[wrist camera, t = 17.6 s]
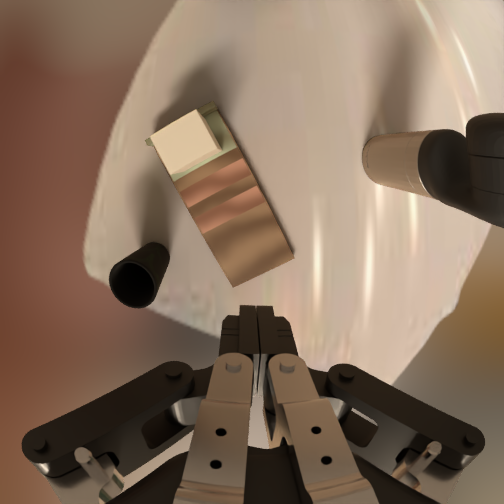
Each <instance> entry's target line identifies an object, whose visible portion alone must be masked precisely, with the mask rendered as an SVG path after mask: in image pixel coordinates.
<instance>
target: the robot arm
mask: <svg viewBox="0 0 504 504" xmlns="http://www.w3.org/2000/svg"><path fill="white" fill-rule="evenodd" d="M362 162H363V167H364V170H365V172H366V174H367V175H368V177H369V178H370V179H371V180H372V181H374V182H375V183H377V184H380V185H383V186H387V187H391V188H395V189H399V190H403V191H407V192H411V193H415V194H418V195H422V196H426V197H430V198H433V199H436V200H440V201H441V202H442V203H444V204H446V205H448V206H451V207H454V208H457V209H459V210H462V211H464V212H466V213H468V214H471V215H473V216H475V217H477V218H479V219H481V220H484V221H486V222H488V223H490V224H493V225H496V226H499V227H502V228H504V113H488V114H482V115H478V116H475V117H473V118H471V119H470V120H469V121H468V123H467V125H466V137H464V136H463V135H462V134H461V133H459V132H457V131H454V130H450V129H441V130H428V131H416V132H405V133H396V134H386V135H379V136H375V137H373V138H372V139H370V140H369V141H368V142H367V144H366V145H365V147H364V150H363V155H362ZM256 386H257V396H263V398H264V404H263V416H264V421H265V426H266V432H267V437H268V443H269V449H262V448H256V447H251V446H248V433H249V420H250V408H251V406H252V396H256ZM352 408H354V409H356V410H357V411H359V412H361V413H362V414H364V415H366V416H368V417H369V418H371V419H373V420H374V421H375V422H376V423H377V425H378V426H376V425H374V424H373V423H371V422H369V421H368V420H366V419H364V418H362V417H361V416H359V415H357V414H356V413H354V412H353V411H351V410H352ZM192 430H194V432H193V436H192V440H191V444H190V448H189V451H187V452H184V453H181V454H179V455H176V456H174V457H173V458H171V459H169V460H168V461H166V462H165V463H164V464H162V465H161V466H159V467H158V468H157V469H155V470H154V471H153V472H151V473H150V474H148V475H147V476H146V477H144V478H143V479H141V480H140V481H139V482H137V483H136V484H134V485H133V486H131V487H130V488H128V489H127V490H125V491H124V492H122V493H121V494H119V493H120V492H121V491H122V490H123V487H124V479H123V477H125V476H126V475H128V474H130V473H131V472H133V471H134V470H136V469H138V468H139V467H141V466H142V465H144V464H145V463H147V462H148V461H150V460H151V459H153V458H154V457H156V456H157V455H159V454H160V453H162V452H163V451H165V450H166V449H168V448H169V447H171V446H172V445H173V444H175V443H176V442H178V441H179V440H180V439H182V438H183V437H184V436H186V435H187V434H188V433H190V432H191V431H192ZM484 446H485V438H484V436H483V434H482V432H481V431H480V430H479V429H478V428H476V427H474V426H472V425H470V424H467V423H465V422H463V421H461V420H459V419H457V418H454V417H452V416H450V415H448V414H446V413H444V412H442V411H440V410H438V409H436V408H433V407H432V406H429V405H428V404H425V403H423V402H422V401H420V400H417V399H416V398H414V397H412V396H410V395H408V394H406V393H404V392H402V391H400V390H398V389H396V388H394V387H393V386H391V385H389V384H387V383H385V382H383V381H381V380H379V379H378V378H376V377H374V376H372V375H370V374H368V373H366V372H365V371H363V370H361V369H359V368H357V367H356V366H353V365H350V364H337V365H334V366H332V367H331V368H330V369H329V371H328V372H324V371H318V370H314V369H311V368H309V367H307V365H306V363H305V361H304V360H303V359H302V358H300V357H299V356H298V352H297V348H296V344H295V341H294V337H293V333H292V329H291V326H290V323H289V322H288V321H287V320H286V319H285V318H284V317H275V316H274V311H273V306H252V305H240V312H239V316H236V315H228V316H227V317H226V318H225V319H224V320H223V322H222V330H221V339H220V349H219V357H218V358H217V359H216V361H215V363H214V364H213V365H212V366H210V367H208V368H205V369H200V370H192V368H191V367H190V366H189V365H188V364H186V363H183V362H179V361H170V362H166V363H163V364H161V365H159V366H157V367H156V368H154V369H152V370H150V371H148V372H147V373H145V374H143V375H141V376H139V377H137V378H136V379H134V380H132V381H130V382H128V383H126V384H124V385H123V386H121V387H119V388H117V389H115V390H113V391H111V392H109V393H107V394H105V395H103V396H101V397H99V398H97V399H95V400H94V401H92V402H90V403H88V404H86V405H83V406H81V407H80V408H77V409H76V410H74V411H71V412H69V413H67V414H65V415H63V416H61V417H59V418H57V419H54V420H52V421H50V422H48V423H46V424H43V425H41V426H39V427H37V428H35V429H32V430H30V431H29V432H28V433H27V434H26V435H25V436H24V438H23V440H22V451H23V453H24V455H25V456H26V457H27V458H28V460H29V461H30V462H31V463H32V464H33V465H34V466H35V467H36V468H37V470H38V471H39V472H40V473H41V474H42V475H43V476H44V477H45V478H46V479H47V480H48V482H49V483H50V485H51V487H52V488H53V490H54V492H55V493H56V495H57V496H58V498H59V499H60V501H61V503H62V504H446V503H447V501H448V499H449V498H450V496H451V494H452V492H453V490H454V488H455V485H456V484H457V482H458V479H459V477H460V475H461V473H462V471H463V469H464V468H465V467H466V466H467V465H469V464H470V463H471V461H472V460H474V459H475V458H476V457H477V456H478V454H479V453H480V452H481V451H482V450H483V448H484ZM351 451H352V452H351ZM379 468H380V469H379ZM384 471H385V472H384ZM387 473H388V474H387ZM389 474H390V475H392V476H390V475H389ZM118 494H119V495H118ZM117 495H118V496H117Z"/></svg>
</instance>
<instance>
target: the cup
mask: <svg viewBox="0 0 504 504" xmlns="http://www.w3.org/2000/svg"><path fill="white" fill-rule="evenodd" d="M169 261H170V256H169V253H168V251H167V249H166V248H165V247H164V246H163V245H161V244H159V243H155V242H154V243H149V244H147V245H145V246H144V247H142V248H140V249H139V250H137V251H135V252H134V253H132V254H131V255H129V256H127V257H126V258H124V259H123V260H121V261H119V262H118V263H117V264H115V265H114V266H113V268H112V269H111V272H110V275H109V284H110V287H111V290H112V292H113V294H114V295H115V297H116V298H117V299H118V300H119V301H120V302H121V303H123V304H124V305H126V306H128V307H132V308H144V307H146V306H148V305H150V304H151V303H152V302H153V301H154V299H155V297H156V295H157V292H158V290H159V287H160V284H161V282H162V279H163V277H164V274H165V272H166V269H167V267H168V264H169Z"/></svg>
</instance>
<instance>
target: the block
mask: <svg viewBox="0 0 504 504" xmlns="http://www.w3.org/2000/svg"><path fill="white" fill-rule="evenodd" d="M150 138H151V140H152V142H153V144H154V146H155V148H156V150H157V152H158V153H159V155H160V157H161V159H162V161H163V163H164V165H165V167H166V168H167V170H168V172H169V174H170V175H171V174H176V173H181V172H185V171H186V170H188V169H190V168H192V167H193V166H195V165H197V164H199V163H201V162H202V161H204V160H206V159H208V158H210V157H212V156H213V155H215V154H217V153H219V152H221V151H222V149H221V147H220V145H219V143H218V142H217V140H216V138H215V136H214V134H213V132H212V131H211V129H210V127H209V125H208V123H207V121H206V119H205V118H204V117H203V116H202V115H201V114H200V113H199V112H198V111H197V110H196V109H195V110H194V111H192V112H190V113H188V114H186V115H185V116H183V117H181V118H179V119H178V120H176V121H174V122H173V123H171V124H169V125H168V126H166V127H164V128H163V129H161V130H159V131H158V132H156V133H155V134H153V135H151V136H150Z"/></svg>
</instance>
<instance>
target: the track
mask: <svg viewBox="0 0 504 504" xmlns="http://www.w3.org/2000/svg"><path fill="white" fill-rule="evenodd" d="M197 111H198V112H199V113H200V114H201V115H202V116H203V117H204V118H205V119H206V121H207V123H208V125H209V127H210V129H211V131H212V132H213V134H214V136H215V138H216V140H217V142H218V143H219V145H220V147H221V149H222V151H221V152H219V153H217V154H215V155H213V156H212V157H210V158H208V159H206V160H204V161H202V162H201V163H199V164H197V165H195V166H193V167H192V168H190V169H188V170H186V171H185V172H181V173H176V174H171V175H170V174H169V172H168V170H167V168H166V167H165V165H164V163H163V161H162V159H161V157H160V155H159V153H158V152H157V150H156V148H155V146H154V144H153V142H152V140H151V138H150V137H149V138H148V139H146V140H145V142H146V143H147V145H148V146H154V148H155V150H156V152H157V154H158V156H159V158H160V160H161V161H162V163H163V165H164V167H165V169H166V171H167V173H168V174H169V176H170V178H171V180H172V182H173V184H174V185H175V187H176V189H177V191H178V193H179V195H180V196H181V198H182V200H183V202H184V204H185V205H186V207H187V209H188V211H189V213H190V214H191V216H192V218H193V220H194V221H195V223H196V225H197V227H198V228H199V230H200V232H201V234H202V236H203V237H204V239H205V241H206V242H207V244H208V246H209V248H210V249H211V251H212V253H213V255H214V256H215V258H216V260H217V261H218V263H219V265H220V267H221V268H222V270H223V272H224V273H225V275H226V277H227V278H228V280H229V282H230V283H231V285H232V287H235V286H238V285H240V284H242V283H244V282H246V281H248V280H250V279H252V278H254V277H257V276H259V275H261V274H263V273H265V272H267V271H269V270H271V269H273V268H275V267H277V266H279V265H281V264H284V263H286V262H288V261H290V260H292V259H294V256H293V254H292V252H291V250H290V248H289V246H288V244H287V242H286V240H285V238H284V235H283V233H282V231H281V229H280V227H279V225H278V223H277V221H276V219H275V217H274V215H273V213H272V211H271V209H270V207H269V205H268V203H267V201H266V199H265V197H264V195H263V193H262V191H261V190H260V188H259V186H258V184H257V182H256V180H255V178H254V176H253V174H252V172H251V170H250V168H249V166H248V164H247V163H246V161H245V159H244V157H243V155H242V153H241V151H240V149H239V147H238V145H237V144H236V142H235V140H234V138H233V136H232V134H231V132H230V131H229V129H228V127H227V125H226V123H225V121H224V120H223V118H222V116H221V114H220V112H219V111H218V109H217V107H216V105H215V103H214V101H212V102H210V103H208V104H206V105H204V106H202V107H200V108H199V109H197Z"/></svg>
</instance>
